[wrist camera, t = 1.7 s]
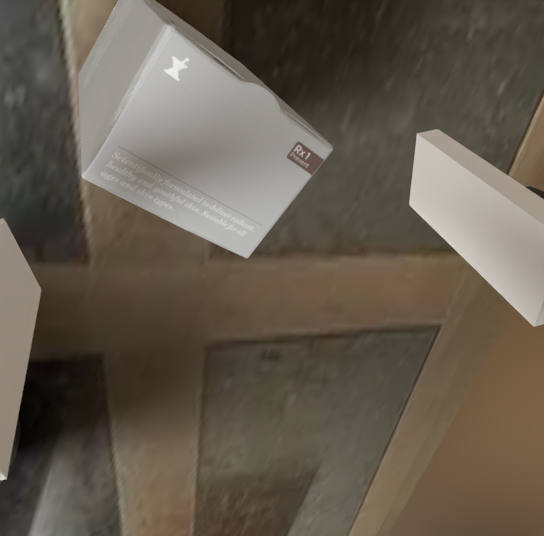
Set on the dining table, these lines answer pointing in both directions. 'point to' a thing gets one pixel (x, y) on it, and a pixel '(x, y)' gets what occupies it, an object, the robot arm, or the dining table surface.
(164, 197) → the skincare box
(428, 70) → the dining table surface
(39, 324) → the dining table surface
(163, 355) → the dining table surface
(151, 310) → the dining table surface
